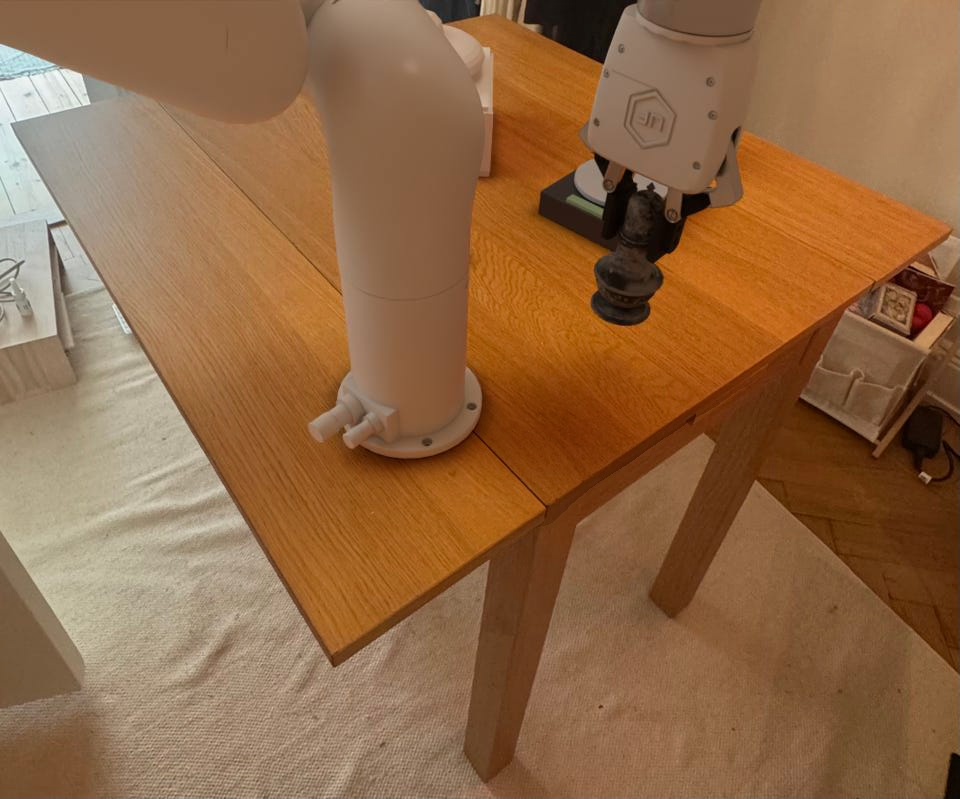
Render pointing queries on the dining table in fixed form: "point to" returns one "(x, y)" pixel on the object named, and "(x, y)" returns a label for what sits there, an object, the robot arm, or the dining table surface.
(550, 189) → the scale
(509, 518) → the dining table surface
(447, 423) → the robot arm
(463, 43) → the butter dish
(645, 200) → the dark grey finial
